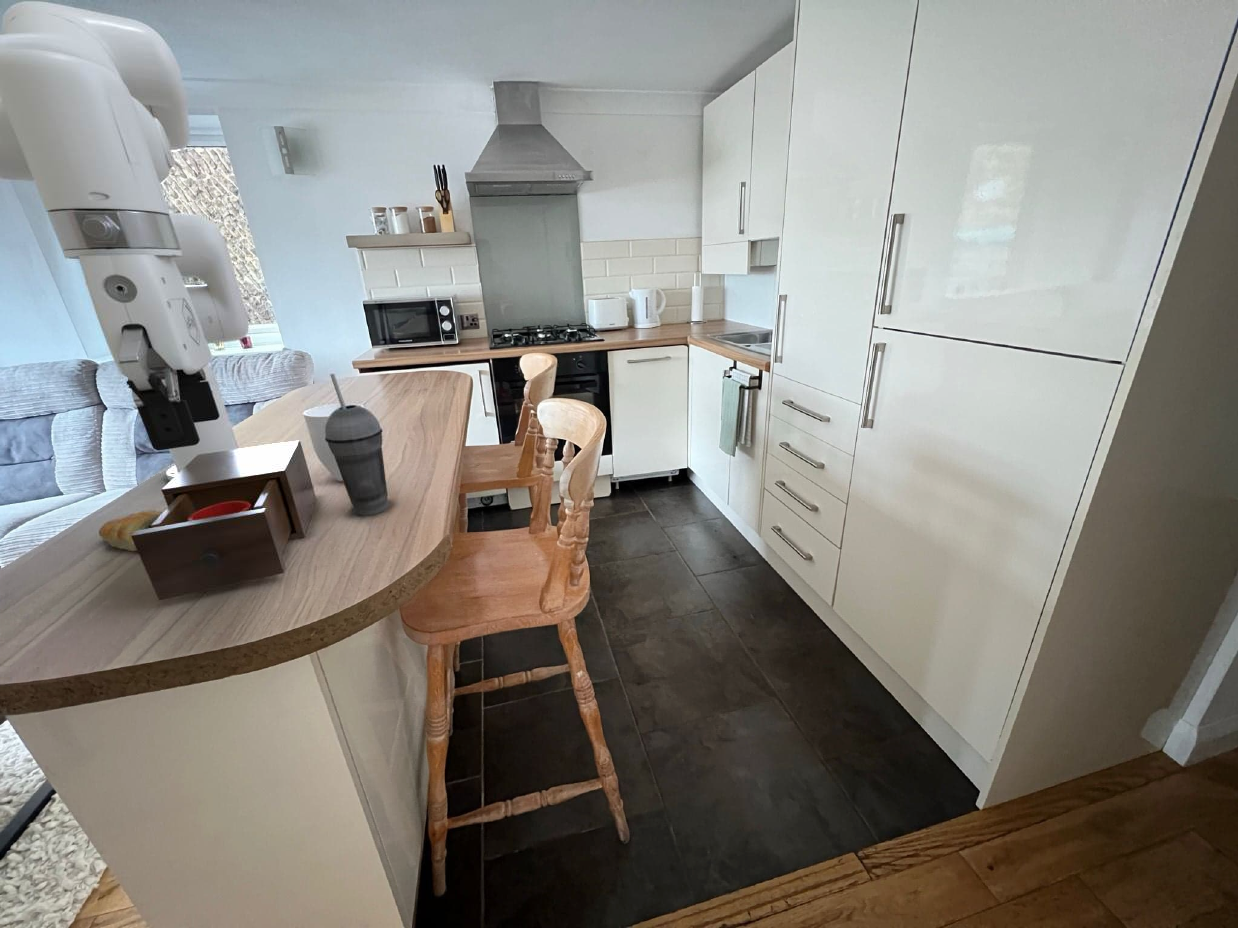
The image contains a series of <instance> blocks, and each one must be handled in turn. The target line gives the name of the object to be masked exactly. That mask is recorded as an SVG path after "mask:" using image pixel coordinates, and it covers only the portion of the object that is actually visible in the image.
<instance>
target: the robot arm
mask: <svg viewBox="0 0 1238 928" xmlns="http://www.w3.org/2000/svg"><path fill="white" fill-rule="evenodd" d="M1 32H2V34H0V179H1V180H10V181H22V182H23V181H26V182H34V184H35V186H36V189H37V192H38V194H39V197H40V199H41V202H42V204H43V207H44V209H45V212H46V213H47V216H48V218H49V221H50V224H51V226H52V228H53V231H54V234H55V236H56V238H57V239H56V240H57V241H58V243H59V246H60V248H61V250H62V254H63V257H64V259H69V260H79V262H80V263H79V264H80V267H81V270H82V273H83V277H84V280H85V284H86V287H87V289H88V293H89V296H90V299H91V302H92V305H93V308H94V311H95V315H96V317H97V320H98V323H99V326H100V328H101V331H102V334H103V337H104V338H105V341H106V345H107V347H108V349H109V352H110V354H111V356H112V358H113V360H114V361H113V362H114V363H115V365H116V367H117V369H118V371H119V372H120V374H121V375H122V376H124V377H126V378H127V380H126V386H128V389H130V390H131V394H132V400H133V402H134V404H135V406H136V409H137V411H138V414H139V416H140V419H141V422H142V423H143V426H144V429H145V431H146V434H147V437H148V440H149V442H150V444H151V447H152V449H153V450H155V451H165V450H169V454H170V456H171V459H172V461H173V465H174V466H171V467H170V468H168V469H167V470H166V472H165V475H166V478H167V480H168V481H169V482H170V481H171V480H172V479H173V478H174V477H175V476H176V475H177V474H178V473H179V472H180V471H181V470H182V469H183V468H184V467H185V466H186V465H187V464H189V463H190V462H191V461H192V460H193V459H194V458H195V457H196V456H197V455H199V454H206V453H213V452H220V451H228V450H235V449H240V448H239V445H238V442H237V439H236V437H235V433H234V430H233V426H232V424H231V421H230V418H229V415H228V411H227V409H226V406H225V403H224V399H223V397H222V396H223V395H222V394H221V390H220V387H219V384H218V381H217V378H216V375H215V372H214V371H213V369H212V368H211V367H210V365H208V364H210V363H211V361H212V360H213V355H212V352H211V348H210V346H209V345H210V344H218V343H228V342H235V341H240V340H242V339H244V338H245V337H247V336H248V333H249V319H248V315H247V311H246V308H245V304H244V300H243V297H242V293H241V290H240V286H239V283H238V279H237V276H236V273H235V269H234V265H233V262H232V258H231V255H230V251H229V249H228V245H227V243H226V241H225V238H224V236H223V234H222V232H221V231H220V229H219V227H218V226H217V225H216V223H215V222H213V220H211V219H210V218H208V217H206V216H203V215H199V214H196V213H195V214H194V213H178V212H176V213H174V212H170V210H169V207H168V204H167V202H166V201H167V200H166V198H165V195H164V192H163V189H162V186H161V184H163V183H165V181H167V180H168V178H169V176H170V173H171V170H172V169H173V170H174V166H175V160H174V155H173V152H178V151H182V150H184V149H185V148H186V147H187V146H188V145H189V142H190V139H191V137H190V136H191V130H190V129H191V128H190V121H189V115H188V101H187V93H186V87H185V82H184V77H183V74H182V71H181V69H180V66H179V64H178V61H177V59H176V56H175V55H174V53H173V51H172V49H171V48H170V46H169V44H168V43H167V42H166V41H165V39H164V38H163V36H161V34H159V33H158V32H157V31H156V30H155V29H154V28H152V27H151V26H149V25H148V24H146V23H144V22H142V21H139V20H137V19H133V18H129V17H123V16H118V15H114V14H108V13H104V12H100V11H99V12H98V11H94V10H88V9H84V8H80V7H79V8H78V7H75V6H74V7H73V6H69V5H64V4H59V3H53V2H48V1H47V2H46V1H39V0H31V1H30V0H27V1H26V0H25V1H20V2H17V3H15V4H13V5H10V7H9V8H8V9H6V10H5V13H4V14H3V16H2V21H1ZM193 278H194V279H199V280H201V281H203V282H204V283H205V284H199V285H197V284H196V285H186V284H185V281H184V279H193Z"/></svg>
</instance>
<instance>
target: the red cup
mask: <svg viewBox="0 0 1238 928" xmlns="http://www.w3.org/2000/svg"><path fill="white" fill-rule="evenodd" d="M251 510H253V509H252V506H251V504H250V503H249V502H248V501H242V500H241V501H228V502H223V503H218V504H215V505H211V506H208V507H206V508H203V509H200V510H198V511H197V512H195V513H193V514H191V515H190V517H189V518H188V522H189V521H194V520H200V519H206V518H211V517H217V516H222V515H228V514H234V513H239V512H245V511H251Z"/></svg>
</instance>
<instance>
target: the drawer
mask: <svg viewBox="0 0 1238 928" xmlns="http://www.w3.org/2000/svg"><path fill="white" fill-rule="evenodd" d="M241 500H242V501H248V502H249V503H250V504H251V506H252V509H253V510H251V511H245V512H239V513H234V514H228V515H222V516H217V517H211V518H206V519H200V520H194V521H189V522H188V518H189V517H190V515H191V514H193V513H195V512H197V511H198V510H200V509H203V508H206V507H208V506H211V505H215V504H218V503H223V502H228V501H241ZM162 512H163V513H162V514H161V515H160V516H159V517H158V518H157V519H156V520H155V521H154V522H153V524H152V525H151V528H149V529H144V530H138V531H135V532H134V533H133V534H132V535H131V537H132V540H133V542H134V544H135V546H136V549H137V551H136V552H137V554H138V556H139V557H140V560H141V562H142V565H143V566H144V570H145V571H146V574H147V576H148V578H149V580H150V581H149V582H151V585H152V588H153V590H154V592H155V594H156V597H157V599H158V601H165V600H169V599H174V598H179V597H184V596H188V595H193V594H197V593H200V592H201V593H202V592H205V591H210V590H215V589H218V588H225V587H228V586H233V585H238V584H242V583H246V582H251V581H255V580H259V579H265V578H269V577H273V576H278V575H283V574H285V571H286V564H285V561H284V558H283V554H284V552H285V549H286V546H287V543H288V541H289V540H288V538H289V535H290V532H291V530H292V527H293V524H292V521H291V517H290V514H289V511H288V508H287V504H286V501H285V498H284V494H283V491H282V488H281V485H280V481H279V478H278V477H277V478H270V479H264V480H258V481H252V482H245V483H239V484H233V485H227V486H220V487H214V488H208V489H202V490H195V491H189V492H183V493H181V494H180V495H179V496H178V497H177V498H176V499H175V500H174V501H173V502H172V503H171V504H170V505H169V506H167V507H166V508H165V509H164V510H163V511H162Z"/></svg>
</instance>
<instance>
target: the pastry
mask: <svg viewBox="0 0 1238 928" xmlns="http://www.w3.org/2000/svg"><path fill="white" fill-rule="evenodd" d="M163 512H164V511H157V510H153V509H152V510H145V511H139V512H133V513H131V514H127V515H125V516H122V517H119V518H114V519H111V520H108V521H107V522H105V523H104V524H103V525H102V526H101V527H100V529H99V530H98V535H99V537H100V538H102V539H103V541H106V542H107V543H108V544H109V545H110V546H111V547H113V548H117V549H119V550H126V551H131V552H138V551H137V549H136V546H135V544H134V542H133V540H132V537H131V535H132V534H133V533H134V532H135V531H138V530H144V529H149V528H151V525H152V524H153V522H154V521H155V520H156V519H157V518H158V517H159V516H160V515H161V514H162V513H163Z"/></svg>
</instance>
